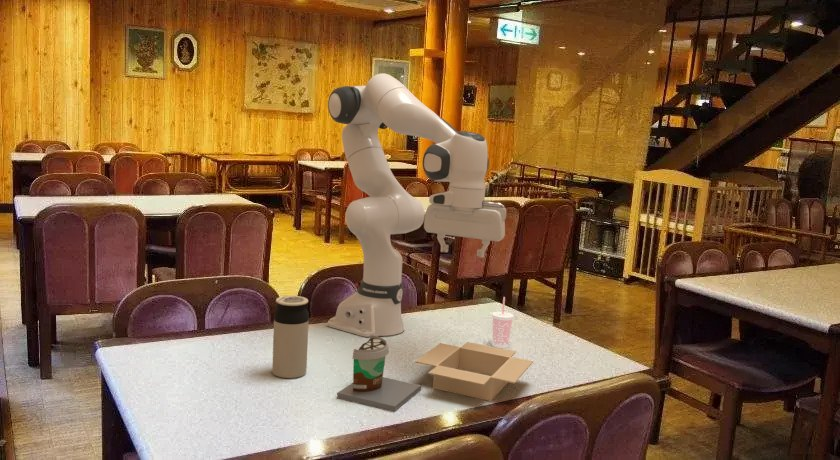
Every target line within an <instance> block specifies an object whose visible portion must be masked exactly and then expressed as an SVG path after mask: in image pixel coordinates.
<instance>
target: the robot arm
mask: <svg viewBox="0 0 840 460" xmlns="http://www.w3.org/2000/svg"><path fill="white" fill-rule="evenodd" d="M327 108H328V114H329V115H330V117H331V119H332V120H333V121H334V122H336V123H338V124H342V125H345V126H344V128H343V129H342V131H341V140H342V146H343V151H344V152H343V153H344V154H345V155H344V156H345V160H346V162H347V165H348V168H349V171H350V173H351V177H352V180H353V183H354V185H355V186H356V188H358V189H359V190H360V191H362V192H364V193H365V194H367V195H368V196H367V197H362V198H360V199H356V200H353V201H352V202H350V203H349V204H348V205H347V208H346V209H345V210H346V211H345V217H344V218H345V224H346V226H347V228H348V230H349V231H350V232H351V233H352V234H353V235H354V236H355V237H356V238H357V239H358V241H359V243H360V246H361V249H362V254H363V277H362V279H361V280H360V281H358V282H356V283H355V286H354V288H357V290H356V291H355V292H354V293H353V294H351V295H349V296H348V297H347V298H346V299H344V300H343V301H341V302H340V303H339V304H338V305H337V309H336V313H335V315H334V316H333V317H331V318H329V320H327V324H326V325H327V326H328V327H329V328H333V329H335V330H341V331H343V332H348V333H350V334H355V335H357V336H361V337H365V338H366V337H367V338H368V337H369V338H370V335H374V336H378V337H382V336H384V337H385V336H386V337H387V336H395V335H400V334H402V333H403V332H404V331H405V328H404V323H403V319H402V318H403V317H402V309H401V308H402V306H401V305H402V303H401V302H402V299H403V282H402V277H403V274H402V273H403V256H402V254H401V253H400V251H398V250H397V249H395V248H394V247H393V245H392V242H391V235H400V234H401V235H402V234H407V233H410V232H413V231H416V230H418V229H420V227H421V226H422V225H423V229H424V231H426V233H429V234H430V233H431V234H437V236H436V239H437V241H438V243H439V245H440V253H448V252H449V248H450V247H449V246H450V245H449V244H447V243H446V241H445V238H446V236H453V237H460V238H461V237H462V238H468V239H475V240H481V244H482V246H481V248H478V249H477V250H476V258H481V259H482V258H485V251H486V250H487V248H488V247H489V245H490V243H491V242H492V241H493V242H500V241H502V240H503V239H505V236H506V228H505V227H506V224H505V221H506V219H507V208H506V206H505V205H504V204H502V203H501V202H493V201H487V200H485V196H486V183H485V178H486V177H485V176H486V174H487V173H488V171H489V170H488V169H489V164H490V160H489V155H488V150H489V149H488V143H487V139H486V137H484V136H483V135H482V134H479V133H478V132H477V133H476V132H472V131H465V130H464V131H463V130H462V131H458V130H457V129H456V128H454V127H453V126H452V125H451V123H449V122H447V120H445V119H444V118H442V117H441V115H439V114H437V113H435V111H433V110H432V109H430V108H429V107H427V106H426V105H425V104H424V102H422V101H420V99H419V98H417V97H416V96H415V95H414V94H413V93H412V92H411V91H410V90H409V89H408V88H407V87H406V85H404V84H403V83H402V82H401V81H399V80H398V79H397V78H395V77H394V76H392V75H391V74H388V73H382V72H381V73H377V74H375V75H374V76H372V77H371V78H370V79H369V80H368V81H367V83H366V84H364V85H354V86H348V85H343V86H340V87H337V88H334V89H333V90H332V92H330V95H329V96H328V101H327ZM387 128H388V129H390V130H391V131H392V132H395V133H397V134H400V135H406V136H412V137H417V138H421V139H427V141H431V142H433V143H434V144H431V145H429V146H428V147H427V148H426V149H425V151H424V154H423V157H422V169H423V173H424V174H425V176H426V177H427V178H428V179H429V180H431V181H434V182H438V183H439V182H441V183H443V182H444V183H446V182H447V183H449V185H448V190H446V191H445V190H444V191H441V192H439V193H434V194H432V195H430V196H429V198H428V199H429V205H428V206H427V208H426V211H425V208H424V205H423V204H422V202H421V200H419V199H417V198H415V197H414V196H412V195H411V194H410V193H409V192H408V191H407V190H406V189H404V186H402V185H401V183H400V182H399V181H398V180H397V179H396V177H395V175H394V173H393V171H392V170H391V168H390V165H389V163H388V160H387V158H386V154H385V152H384V149H383V146H382V144H381V141H380V139H379V133H378V132H379V129H380V130H386V129H387Z"/></svg>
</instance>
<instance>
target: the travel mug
mask: <svg viewBox="0 0 840 460" xmlns="http://www.w3.org/2000/svg"><path fill="white" fill-rule="evenodd" d="M275 302H276V306H277V308H276V310H275V311H274V313H273V314H274V315H273V340H272V342H273V343H272V344H273V345H272V346H273V347H272V374H273V375H274V376H276V377H279V378H282V379H297V378H300V377H303V376H304V375H305V374H307V368H308V367H307V366H308V363H307V362H308V343H309V341H308V340H309V338H308V337H309V322H310V321H309V319H310V315H309V314H310V313H309V311H308V309H307V305H308V303H309V299H308V298H307V297H304V296H299V295H283V296H279V297H276V299H275Z"/></svg>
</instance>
